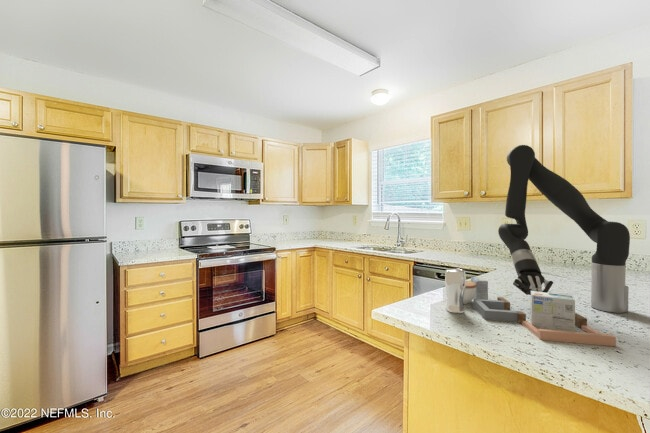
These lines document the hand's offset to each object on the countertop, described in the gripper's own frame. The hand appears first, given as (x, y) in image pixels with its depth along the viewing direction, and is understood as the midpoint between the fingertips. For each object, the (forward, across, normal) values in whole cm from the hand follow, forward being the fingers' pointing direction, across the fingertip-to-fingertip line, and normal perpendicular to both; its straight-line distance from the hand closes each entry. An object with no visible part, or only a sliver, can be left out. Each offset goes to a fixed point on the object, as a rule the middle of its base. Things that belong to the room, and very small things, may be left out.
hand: (541, 305), depth 100 cm
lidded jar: (-6, -22, +13) cm, 27 cm away
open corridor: (+1, 0, +5) cm, 5 cm away
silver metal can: (+3, -28, +4) cm, 28 cm away
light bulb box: (+11, -2, -4) cm, 12 cm away
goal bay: (+13, 0, -6) cm, 14 cm away
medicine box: (-10, -14, +16) cm, 24 cm away
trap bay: (+3, -14, +4) cm, 14 cm away
